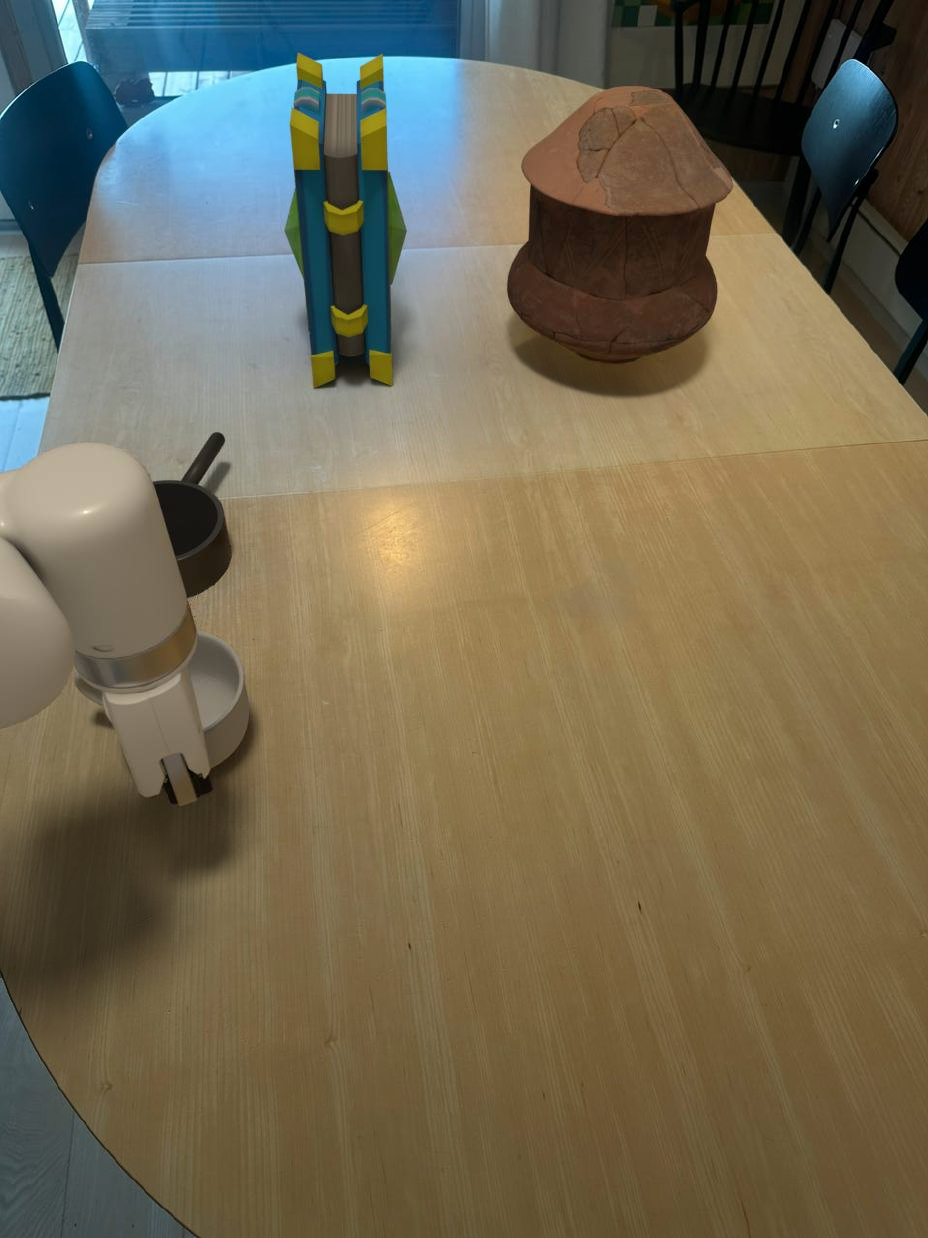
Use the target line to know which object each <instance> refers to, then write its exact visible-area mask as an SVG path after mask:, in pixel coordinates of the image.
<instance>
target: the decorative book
mask: <svg viewBox="0 0 928 1238" xmlns="http://www.w3.org/2000/svg"><path fill="white" fill-rule="evenodd" d="M295 69H296V79H297V85H296V91H294V95H293V107H291V110H290V117H289V131H290V132H289V133H290V143H291V155H292V165H293V166H292V167H293V175H294V190H293V194H292V199H291V203H290V206H289V211H288V214H287V219H286V222H285V226H284V230H283V231H284V234H285V236H286V239H287V241H288V244H289V246H290V249H291V251H292V254H293V256H294V259H295V262H296V264H297V267H298V269H299V271H300V274H301V276H302V279H303V286H304V299H305V309H306V310H305V311H306V319H307V330H308V332H309V333H308V334H309V344H310V345H309V346H310V362H311V363H310V365H311V374H312V384H313V386H312V387H313V389H316V388H319V387H320V386H322V385H325V384H327V383H329V382H331V381H334V380H335V379H336V365H337V364H339V361H338V359H339V355H341V356H345V357H355V356H360V355H362V354H364V353H365V362H366V364H368V365H369V377H370V378H371V379H373V380H376V381H379V382H381V383H384V384H386V385H388V386H390V387H393V359H392V358H393V357H392V290H391V289H392V288H391V286H392V285H393V283H394V280H395V278H396V277H395V276H396V273H397V270H398V266H399V261H400V259H401V254H402V251H403V247H404V243H405V240H406V236H407V232H408V230H407V227H406V223H405V220H404V216H403V213H402V208H401V206H400V203H399V199H398V196H397V193H396V189H395V185H394V181H393V179H392V176H391V171H389V161H388V118H387V116H388V113H387V94H386V92H385V79H384V78H385V75H384V73H385V72H384V55H383V53H381V54H379V55H378V56H376V57H373V59H371V60H369V61H367V62H366V63H364V64H362V65H360V66H359V80H357V81H356V93H328V91H327V90H328V89H327V81H326V80H324V75H323V74H324V72H323V64H322V63H320V62H318V61H316V60H314V59H313V58H310V57H308V56H306V55H304V54H302V53H300V52H297V56H296V65H295Z"/></svg>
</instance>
